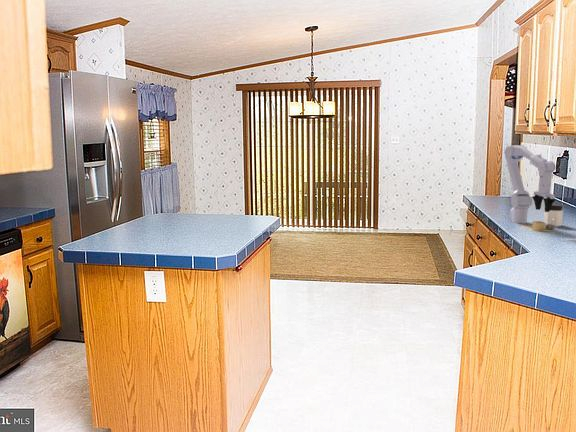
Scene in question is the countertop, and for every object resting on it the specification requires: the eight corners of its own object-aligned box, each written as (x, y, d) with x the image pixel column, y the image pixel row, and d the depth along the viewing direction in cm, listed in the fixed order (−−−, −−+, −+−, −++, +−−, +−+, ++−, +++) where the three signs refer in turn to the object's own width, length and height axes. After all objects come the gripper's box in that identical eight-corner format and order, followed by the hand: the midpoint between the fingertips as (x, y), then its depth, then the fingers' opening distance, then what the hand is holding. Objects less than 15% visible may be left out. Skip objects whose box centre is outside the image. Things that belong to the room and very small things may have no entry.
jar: (542, 227, 289) (544, 205, 287) (543, 224, 296) (545, 203, 294) (561, 228, 285) (563, 206, 283) (561, 226, 292) (564, 204, 290)
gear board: (517, 227, 287) (518, 220, 287) (539, 226, 289) (540, 219, 289) (536, 233, 272) (536, 225, 271) (559, 232, 274) (560, 225, 273)
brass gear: (531, 228, 278) (531, 221, 277) (539, 228, 279) (540, 221, 278) (537, 230, 273) (537, 223, 273) (545, 230, 274) (546, 222, 273)
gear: (542, 228, 279) (543, 222, 279) (551, 228, 280) (551, 222, 279) (548, 230, 274) (549, 224, 274) (557, 230, 275) (557, 224, 275)
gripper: (529, 183, 285) (527, 208, 288) (546, 186, 271) (544, 213, 274) (541, 183, 287) (539, 208, 289) (559, 186, 273) (556, 212, 275)
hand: (542, 210), depth 281 cm, fingers open, 7 cm apart
